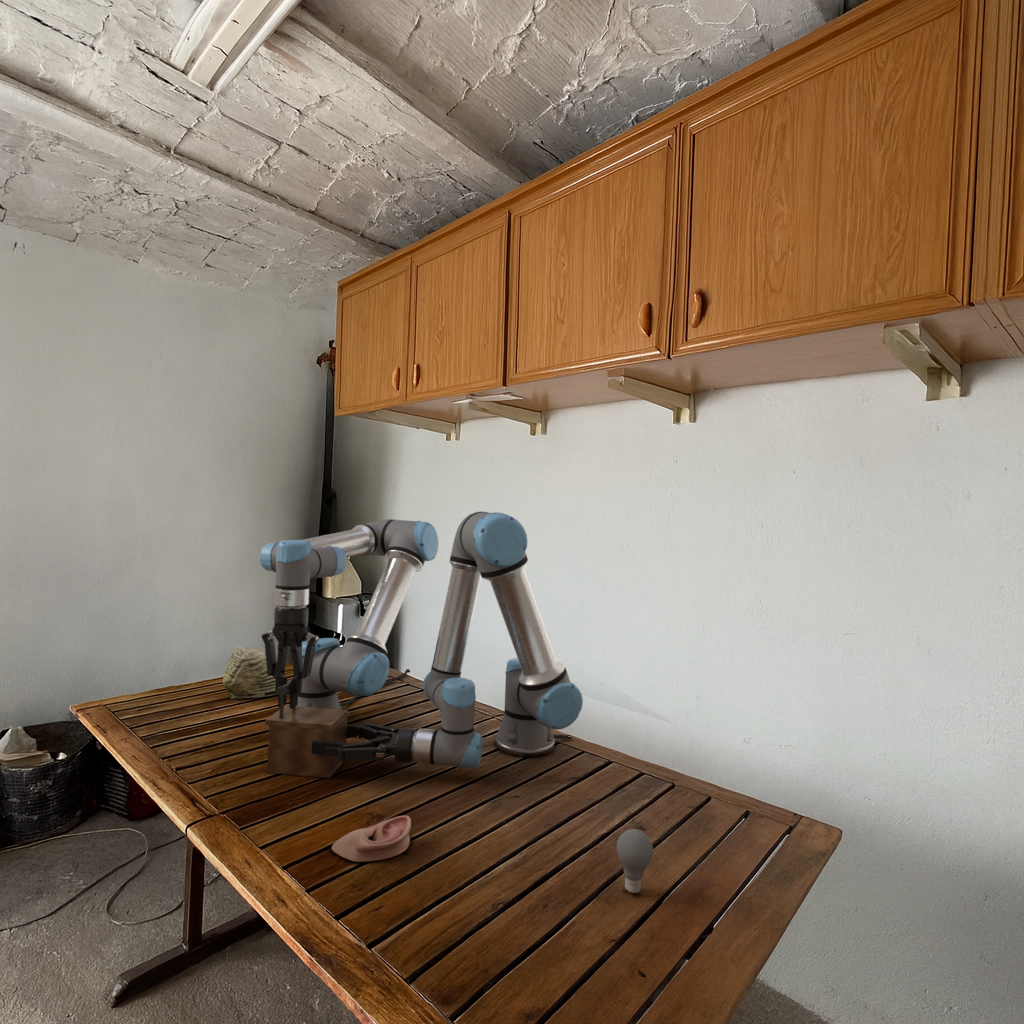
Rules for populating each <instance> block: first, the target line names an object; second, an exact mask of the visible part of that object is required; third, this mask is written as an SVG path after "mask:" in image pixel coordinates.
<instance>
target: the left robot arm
mask: <svg viewBox="0 0 1024 1024" xmlns="http://www.w3.org/2000/svg"><path fill="white" fill-rule="evenodd" d="M438 551H439V535H438V532H437V530H436V527H435V526H434V525H433V524H432V523H430V522H429V521H422V520H405V519H394V518H393V519H392V518H389V519H380V520H376V521H371V522H366V523H362V524H357V525H355V526H354V527H353V528H352V529H349V530H344V531H339V532H333V533H330V534H324V535H319V536H314V537H310V538H304V539H303V538H302V539H283V540H280V541H276V542H268V543H266V544H264V546H263V547H262V548H261V550H260V553H259V563H260V565H261V567H262V568H263V569H264V570H266V571H268V572H273V573H274V574H275V592H274V605H275V608H274V611H273V614H274V615H273V623H274V625H273V627H272V629H271V630H270V631H267V632H264V633H263V634H261V639H262V642H263V643H264V652H265V653H266V663H267V674H268V675H269V676H273V677H275V691H276V692H277V689H278V688H279V687H280V686H282V685H284V684H285V683H287V682H288V676H286V673H285V672H286V665H287V657H288V653H289V648H290V650H291V653H292V656H291V657H292V668H293V669H292V672H293V678H292V679H290V680H291V682H290V692H289V706H290V708H291V709H293V708H294V707H295V706H298V707H312V708H325V709H338V710H343V709H342V707H346V706H348V705H350V704H351V703H352V702H354V701H356V699H358V698H360V697H370V696H372V695H374V694H376V693H378V692H379V691H380V690H381V689H382V688H383V686H385V685H388V684H391V683H393V682H395V681H397V680H399V679H401V678H403V677H405V676H407V675H408V673H411V670H410V669H409V668H406V669H405V671H404V672H403V673H402V674H400V675H398V676H396V677H393V678H391V679H389V680H387V679H388V677H389V674H390V669H389V668H390V660H389V658H388V656H387V655H388V649H387V647H386V644H387V641H388V638H389V636H390V633H391V631H392V629H393V627H394V624H395V622H396V619H397V617H398V614H399V612H400V609H401V607H402V605H403V602H404V600H405V597H406V595H407V592H408V591H409V588H410V586H411V583H412V580H413V578H414V576H415V574H416V573H417V572H421V571H422V569H423V567H424V565H425V562H431V561H433V560H435V558H436V556H437V555H438ZM353 556H359V557H368V556H379V557H385V559H386V560H387V562H386V564H385V567H384V570H383V571H382V574H381V575H380V578H379V580H378V583H377V585H376V587H375V589H374V592H373V594H372V596H371V599H370V601H369V603H368V606H367V608H366V610H365V612H364V614H363V617H362V618H361V620H360V624H359V626H358V628H357V630H356V633H354V634H353V635H350V636H348V637H347V639H346V641H345V644H344V646H341V645H340V644H341V643H340V640H339V638H335V637H322V638H320V636H319V635H318V634H316V635H315V634H313V633H311V632H310V628H309V626H308V625H309V607H308V605H309V604H310V585H311V584H310V583H311V581H310V580H312V579H319V578H320V579H321V578H327V577H328V578H332V577H335V576H339V575H341V574H342V573H343V572H344V571H345V569H346V568H347V562H348V561H347V558H350V557H353ZM275 639H276V640H277V641H276V642H278V644H277V653H276V643H275ZM283 676H284V677H283ZM338 692H341V693H345V694H349V695H352V696H353V697H351V698H350V699H349V700H348V701H345V702H340V699H339V695H338ZM287 695H288V693H287V694H285V695H284V706H287V697H288V696H287ZM277 696H278V697H277V702H278V703H277V708H278V709H280V695H278V694H277Z"/></svg>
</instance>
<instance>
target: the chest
mask: <svg viewBox="0 0 1024 1024" xmlns="http://www.w3.org/2000/svg"><path fill="white" fill-rule="evenodd" d="M347 725H348V715H347V716H346V717H345V718H344V719H342V720H341V721H340V722H339V723H338V724H337V725H336V726H335V727H334V728H333V729H332V730H326V729H314V728H301V727H289V726H276V725H268V741H267V743H268V744H267V765H266V767H267V770H266V773H267V774H278V775H290V776H299V777H301V776H302V777H310V778H312V777H313V778H323V779H324V778H325V779H331V777H332V776H333V775H334V774H335V773H336V772H337V771H338V769H340V767H341V766H342V765H343V764H344V762H345V761H339V756H333V755H321V754H312V741H325V742H338V743H340V742H342V743H343V745H345V744H347V740H348V739H347V738H348V737H347Z"/></svg>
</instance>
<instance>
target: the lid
mask: <svg viewBox="0 0 1024 1024" xmlns="http://www.w3.org/2000/svg"><path fill="white" fill-rule="evenodd" d="M291 680H292V679H290V680H287V683H285V684H284V685H282V686H280V687H279V688H278V689H277V693H278V694H277V696H278V695H280V708H279V710H277V711H276V712H274V713H273V714H272V715H270V716H269V717H267V718H266V719H265V723H264V725H265V726H269V725H276V726H289V727H301V728H314V729H326V730H332V729H333V728H334V727H335V726H336V725H337V724H338V723H339V722H340V721H341V720H342V719H344V718H345V717H346V716H347V717H348V714H349V713H348V711H349V710H348V709H342V710H338V709H325V708H312V707H298V706H295V707H294V708H293V709H291V708H290V705H284V695H285V694H287V695H288V693H290V682H291Z"/></svg>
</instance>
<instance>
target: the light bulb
mask: <svg viewBox="0 0 1024 1024" xmlns="http://www.w3.org/2000/svg"><path fill="white" fill-rule="evenodd" d="M615 849H616V854H617V857H618V859H619V861H620V863H621V865H622V867H623V873H624V874H623V875H624V876H625V878H624V888H625V890H627V891H628V892H630V893H634V894H635V893H639V892H640V891H641V889H642V887H641V886H642V879H643V877H644V875H645V871H646V868H647V867H648V866H649V864H650V863H651V861H652V859H653V855H654V847H653V843H652V841H651V838H649V836H648V835H647V834H646V833H645V832H643V831H642V830H641V829H636V828H629V829H627V830H625V831H623V832H622V833H621V834H620V835H619V837H618V839H617V841H616V847H615Z"/></svg>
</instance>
